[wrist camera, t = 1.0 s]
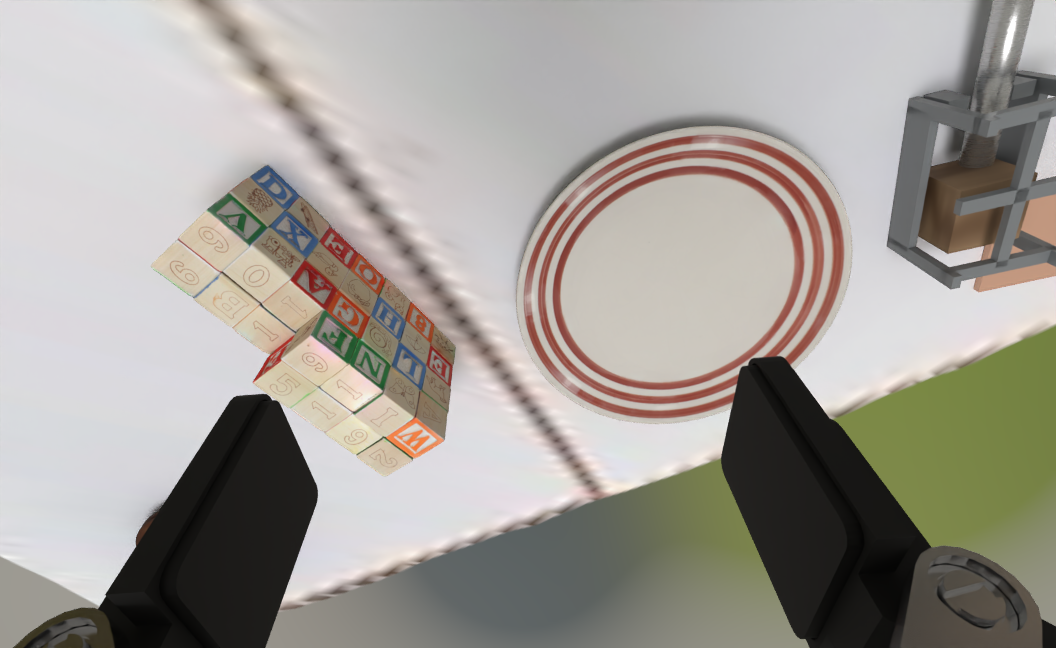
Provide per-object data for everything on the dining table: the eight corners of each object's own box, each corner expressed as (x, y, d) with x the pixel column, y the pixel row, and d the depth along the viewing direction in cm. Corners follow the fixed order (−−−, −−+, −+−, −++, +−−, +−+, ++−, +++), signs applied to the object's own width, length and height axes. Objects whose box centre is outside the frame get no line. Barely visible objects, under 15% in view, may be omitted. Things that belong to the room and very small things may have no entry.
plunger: (970, -131, 30) (1062, -155, 25) (1061, -157, 30) (1174, -187, 25) (919, 162, 40) (980, 187, 35) (988, 146, 39) (1059, 169, 34)
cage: (909, 98, 37) (990, 121, 31) (1022, 70, 37) (1129, 87, 30) (886, 246, 44) (950, 289, 38) (982, 224, 43) (1064, 264, 37)
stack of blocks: (215, 211, 40) (116, 288, 30) (267, 162, 38) (180, 225, 28) (409, 379, 50) (384, 480, 40) (458, 346, 48) (445, 444, 38)
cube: (914, 169, 40) (961, 190, 36) (982, 153, 40) (1037, 173, 36) (904, 228, 43) (947, 253, 39) (968, 213, 43) (1018, 238, 38)
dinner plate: (455, 222, 42) (451, 239, 39) (797, 44, 36) (822, 49, 33) (590, 436, 55) (595, 460, 52) (854, 335, 49) (875, 355, 46)
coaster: (998, 194, 42) (1004, 196, 41) (1119, 166, 41) (1127, 168, 40) (973, 289, 47) (978, 292, 46) (1081, 265, 46) (1087, 268, 45)
